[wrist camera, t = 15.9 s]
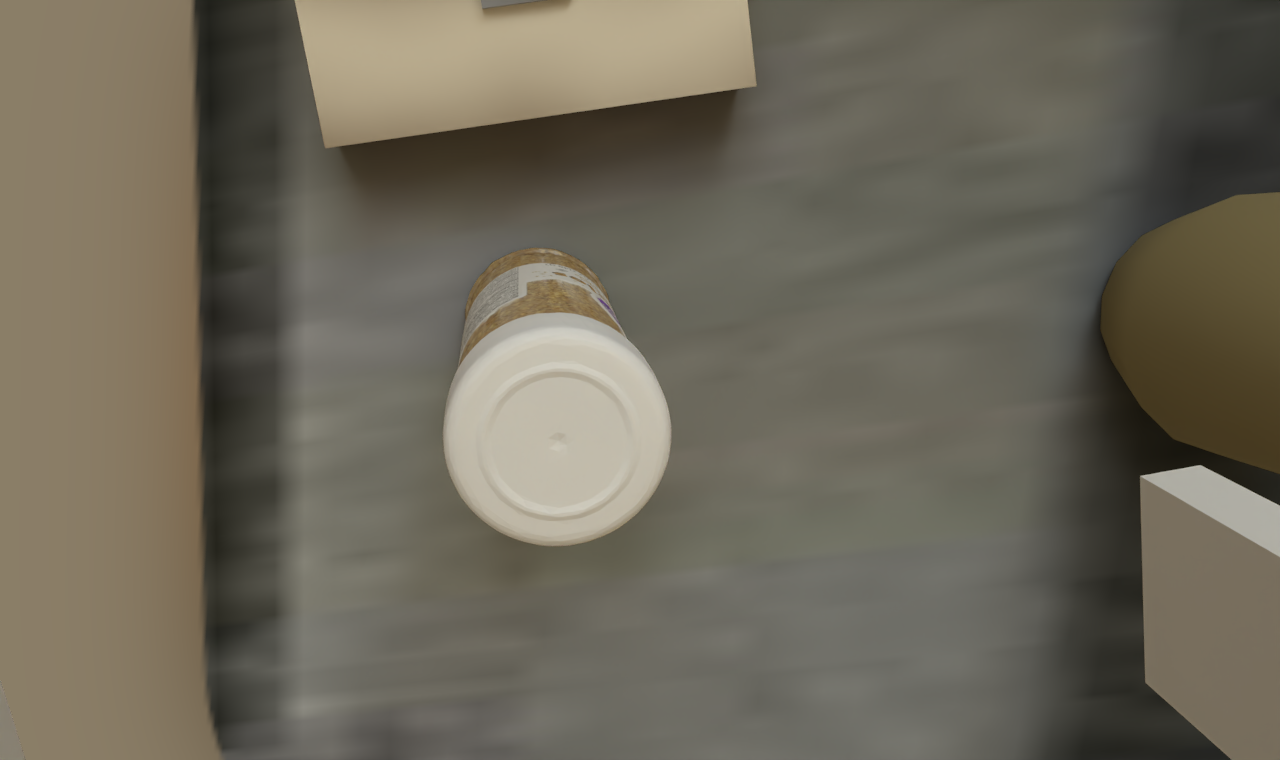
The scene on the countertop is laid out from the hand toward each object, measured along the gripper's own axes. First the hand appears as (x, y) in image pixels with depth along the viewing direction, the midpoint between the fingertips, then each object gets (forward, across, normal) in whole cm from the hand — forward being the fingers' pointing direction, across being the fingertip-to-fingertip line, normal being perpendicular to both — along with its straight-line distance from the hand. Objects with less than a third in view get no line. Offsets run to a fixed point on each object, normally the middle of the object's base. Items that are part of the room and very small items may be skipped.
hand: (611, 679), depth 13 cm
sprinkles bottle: (+23, 0, 0) cm, 23 cm away
